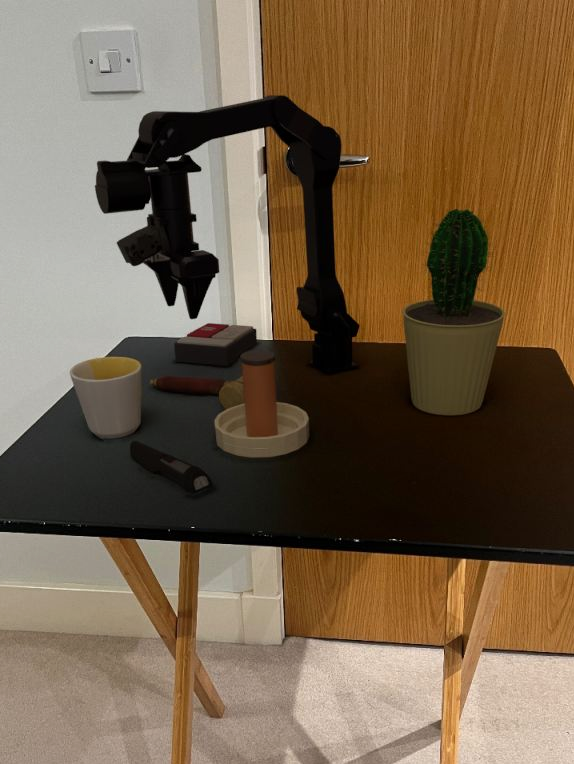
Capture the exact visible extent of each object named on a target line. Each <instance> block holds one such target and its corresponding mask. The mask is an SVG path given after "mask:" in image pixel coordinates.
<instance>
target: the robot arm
mask: <svg viewBox="0 0 574 764" xmlns="http://www.w3.org/2000/svg"><path fill="white" fill-rule="evenodd" d="M265 128H271V129H272V130H273V132H274V133H275V135H276V136H277V138H278V139H279V140H280V141H281V142H282V143H283V144H285V145H286V146H287V147H288V148H289V152H290V157H291V161H292V166H293V170H294V172H295V174H296V177H297V179H298V180H299V183H300V185H301V188H302V200H303V201H302V202H303V215H304V217H303V218H304V232H305V233H304V235H305V250H306V266H307V267H306V268H307V270H306V271H307V275H306V276H307V277H306V279H305V282H304V285H303V286H297V287H296V295H297V307H296V310H298V311H300V315H301V317H302V319H304V321H306V323H307V324H308V327H309V329H310V330H311V331H314V332H315V333H314V334H313V342H312V343H311V347H312V348H311V349H312V350H311V351H312V352H311V353H312V360H311V361H310V362H309V363H310V366H312V367H314V368H315V369H318V370H320V371H321V372H323V373H325V374H334V373H338V372H343V371H347V370H352V369H355V368H357V367H358V364H357V363H356V362H354V361H353V338H357V337H358V333H359V329H360V324H359V323H358V322H357V321H356V320H355V319H354V318H353V317H352V316H351V314H349V313H348V309H347V302H346V297H345V293H344V291H343V289H342V286H341V284H340V283H339V280H338V277H337V272H336V271H337V270H336V250H335V249H336V248H335V247H336V246H335V244H336V243H335V224H334V223H335V221H334V200H333V199H334V198H333V197H334V196H333V186H334V183H335V181H336V179H337V176H338V174H339V172H340V166H341V158H342V137H341V136H340V133H338V132H337V131H336V129H334V128H333V127H332V126H327V125H324V124H323V123H322V122H320V121H319V120H318V119H317V118H315V117H314V116H312V115H311V114H309V113H308V112H306V111H305V110H303V109H302V108H300V107H299V105H297V104H296V103H295V102H294V101H293V100H292V99H290V97H289V96H287V95H283V94H282V95H280V94H279V95H277V94H269V95H266V96H265V97H263V98H258V99H254V100H247V101H244V102H240V103H239V102H238V103H234V104H229V105H224V106H220V107H215V108H210V109H204V110H199V111H170V110H169V111H168V110H167V111H166V110H163V111H162V110H161V111H159V110H154V111H150V112H147V113H146V114H144V115H143V116H142V118H141V120H140V122H139V125H138V131H137V132H138V137H137V139H136V141H135V143H134V145H133V147H132V149H131V150H130V153H129V155H128V156H127V159H126V160H115V161H111V160H110V161H109V160H98V161H96V167H97V168H96V169H97V171H96V173H95V185H94V191H95V196H96V200H97V203H98V206H99V209H100V210H101V212H102V213H103V214H104V215H105V214H106V215H107V214H117V213H127V212H137V211H143V210H144V209H145V208H146V205H149V204H150V205H151V213H148V215H147V217H146V224H147V225H146V226H144V227H142V228H140V229H138V230H135V231H133V232H132V233H129V234H127V235H126V236H124V237H122V238H120V239H118V240H117V241H116V245H117V248H118V249H119V252H120V254H121V255H122V257H123V259H124V261H125V263H126V264H130V265H131V266H132V267H138V266H140V265H142V264H143V265H145V266H147V268H149V269H150V270H151V271H152V272H153V273H154V275H155V276H156V279H157V282H158V285H159V287H160V290H161V293H162V295H163V298H164V300H165V303H166V306H168V307H174V306H175V304H176V301H177V297H178V296H177V295H178V291H179V285H180V286H181V288H182V292H183V297H184V301H185V306H186V311H187V314H188V317H189V318H188V319H190V320H196V319H198V317H199V315H200V311H201V308H202V306H203V304H204V300H205V298H206V295H207V293H208V290H209V288H210V286H211V284H212V281H213V279H216V275H218V274H219V273H220V259H219V258H218V257H217V256H216V255H214V253H212V252H209V251H207V250H203V249H200V244H199V242H196V241H195V240H194V230H193V229H194V227H193V223H196V222H197V221H198V219H197V214H196V213H193V212H192V206H191V205H192V204H191V195H190V183H189V174H192V173H201V172H202V167H201V165H199V164H198V163H197V162H196V161H194V159H193V158H192V157H191V155H190V154H188V153H190V152H192V151H194V150H197V149H198V148H200V147H201V146H203V145H205V144H206V143H208V142H210V141H212V140H216V139H221V138H226V137H230V136H234V135H239V134H244V133H248V132H251V131H257V130H261V129H265ZM173 158H174V159H176V160H169V159H173ZM177 158H179V159H178V160H177Z"/></svg>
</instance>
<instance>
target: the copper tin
mask: <svg viewBox="0 0 574 764" xmlns="http://www.w3.org/2000/svg"><path fill="white" fill-rule="evenodd" d="M240 363H241V372H242V375H243V388H244V403H245V417H246V431H247V437H270V436H275V435H278V422H277V402H278V401H277V383H276V364H275V363H276V353H274V352H273V351H272V350H265V349H254V350H247V351H245V352H243V353H242V354H240Z"/></svg>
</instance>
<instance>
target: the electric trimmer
mask: <svg viewBox="0 0 574 764" xmlns="http://www.w3.org/2000/svg"><path fill="white" fill-rule="evenodd" d="M129 455H130V457H131V458H132V459H133V460H134V461H135V462H137V463H138V464H140V465H141V466H142V467H143V468H145V469H146V470H147V471H148V472H149V473H151V474H153V475H163V476H165V477H166V478H169V479H170V480H172V481H174V482H175V483H177V484H179V485H180V486H183V487H184V489H185V491H186V492H187V493H189V494H191V493H192V494H194V495H195V494H198V493H199V492H201V491H204V490H206V489H209V488H210V487H213V481H212V479H211V478H210V476H209V475H208V474H207V473H206V472H205V471H204V470H203V469H202V468H201V467H199V466H197V465H193V464H190V463H188V462H186V461H185V460H181V459H179V458H177V457H174V456H172V455H170V454H168V453H165V452H163V451H160V450H158V449H156V448H154V447H151V446H149V445H147V444H145V443H142V442H140V441H138V440H132V441H131V443H130V444H129Z"/></svg>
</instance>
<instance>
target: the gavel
mask: <svg viewBox="0 0 574 764" xmlns="http://www.w3.org/2000/svg"><path fill="white" fill-rule="evenodd" d="M149 385H151V386H154V387H155V388H158V389H159V390H162V391H164V392H176V393H191V394H204V395H205V394H206V395H218V400H219V402H220V405H221V406H222V408H224V409H225V410H226V409H228V408H231V407H234V406H238V405H241V404H245V403H244V388H243V374H242V375H241V376H240V377H239V378H237V379H235V380H234V381H233V380H224V379H220V378H208V377H207V378H206V377H192V376H191V377H188V376H174V375H173V376H171V375H165V376H162V377H158V378H155V379H151V380H150V381H149Z"/></svg>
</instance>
